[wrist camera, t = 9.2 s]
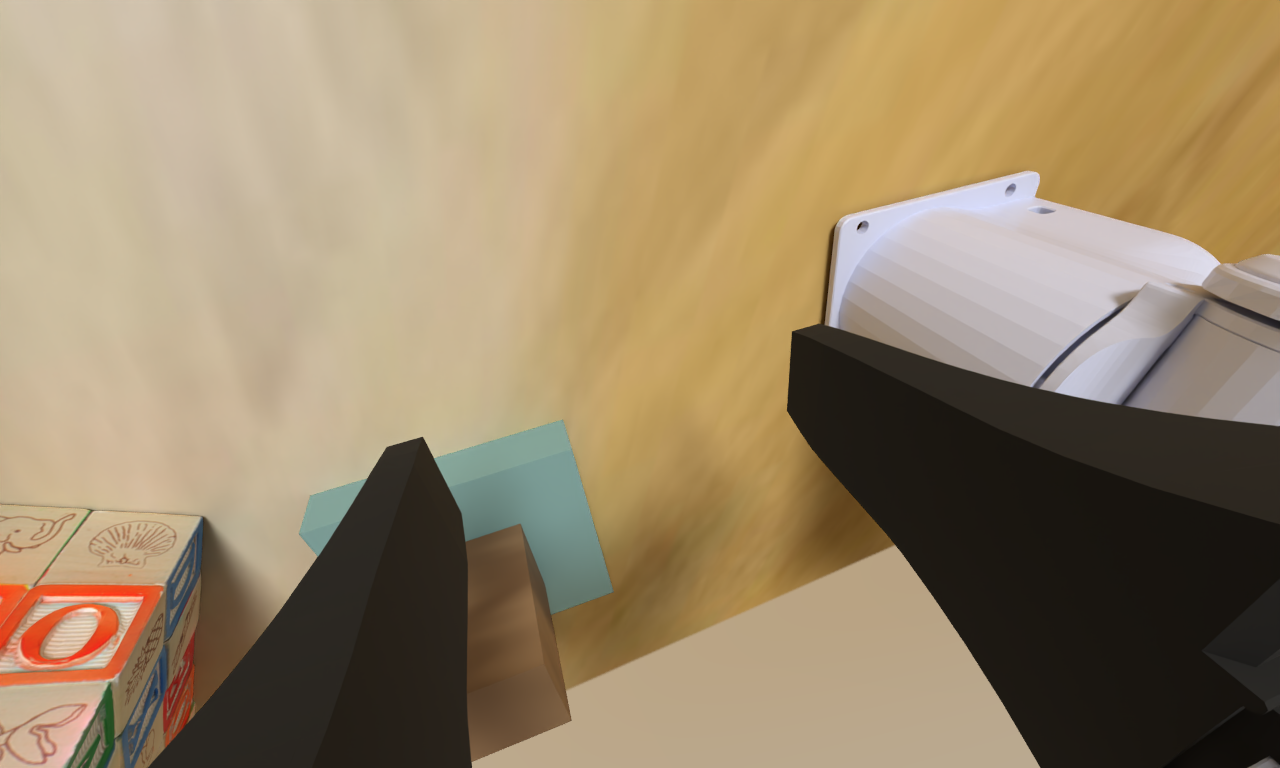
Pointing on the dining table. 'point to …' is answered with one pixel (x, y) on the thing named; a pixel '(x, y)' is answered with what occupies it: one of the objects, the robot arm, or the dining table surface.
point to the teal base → (509, 508)
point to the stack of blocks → (95, 635)
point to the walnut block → (509, 646)
